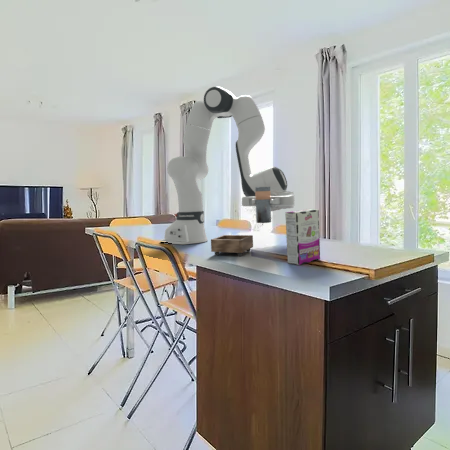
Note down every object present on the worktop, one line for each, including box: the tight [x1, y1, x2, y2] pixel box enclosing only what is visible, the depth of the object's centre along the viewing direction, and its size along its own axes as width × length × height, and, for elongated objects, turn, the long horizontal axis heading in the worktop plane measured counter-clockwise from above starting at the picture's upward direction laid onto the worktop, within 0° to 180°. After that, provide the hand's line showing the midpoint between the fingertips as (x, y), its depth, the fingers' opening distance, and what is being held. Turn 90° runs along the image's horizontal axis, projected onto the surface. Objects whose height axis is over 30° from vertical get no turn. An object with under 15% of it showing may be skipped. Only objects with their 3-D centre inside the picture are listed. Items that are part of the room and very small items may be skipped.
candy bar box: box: [285, 208, 321, 266], centre depth 114 cm, size 11×5×16 cm, turn 129°
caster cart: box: [210, 234, 254, 257], centre depth 134 cm, size 12×12×6 cm
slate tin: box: [255, 187, 272, 224], centre depth 132 cm, size 6×6×13 cm
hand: (262, 202), depth 131 cm, fingers closed on slate tin, 5 cm apart
